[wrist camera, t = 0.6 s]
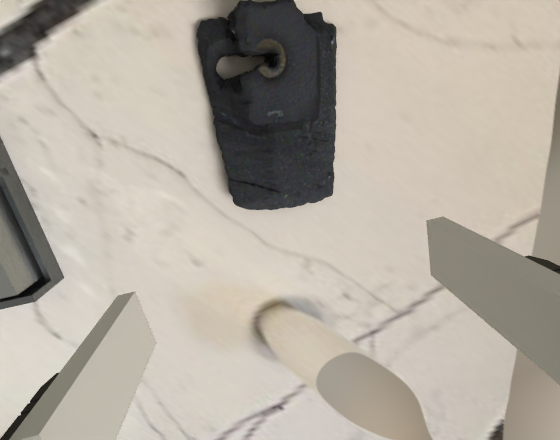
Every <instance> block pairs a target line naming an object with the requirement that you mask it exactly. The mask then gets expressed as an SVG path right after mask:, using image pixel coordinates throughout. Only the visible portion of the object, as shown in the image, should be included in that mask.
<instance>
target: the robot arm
mask: <svg viewBox="0 0 560 440" xmlns="http://www.w3.org/2000/svg"><path fill="white" fill-rule="evenodd" d="M427 233H428V245H429V257H430V270H431V276H433V277H434V278H435V279H436V280H437V281H438V282H440V283H441V284H442V285H443V286H444V287H446V288H447V289H448V290H449V291H450V292H451V293H453V294H454V295H455V296H456V297H457V298H458V299H460V300H461V301H462V302H463V303H464V304H465V305H467V306H468V307H469V308H470V309H471V310H472V311H474V312H475V313H476V314H477V315H478V316H480V317H481V318H482V319H483V320H484V321H485V322H487V323H488V324H489V325H490V326H491V327H492V328H494V329H495V330H496V331H497V332H498V333H499V334H501V335H502V336H503V337H504V338H505V339H506V340H508V341H509V342H510V343H511V344H512V345H514V346H515V347H516V348H517V349H518V350H519V351H521V352H522V353H523V354H524V355H525V356H526V357H528V358H529V359H530V360H531V361H532V362H534V363H535V364H536V365H537V366H538V367H539V368H541V369H542V370H543V371H544V372H545V373H546V374H548V375H549V376H550V377H551V378H552V379H553V380H555V381H556V382H557V383H558V384H559V385H560V266H558V265H556V264H554V263H552V262H550V261H548V260H544V259H540V258H536V257H532V256H525V257H524V256H522V255H520V254H518V253H516V252H514V251H512V250H510V249H508V248H506V247H504V246H502V245H500V244H498V243H496V242H494V241H492V240H490V239H488V238H486V237H483V236H481V235H479V234H477V233H475V232H473V231H471V230H469V229H467V228H465V227H463V226H461V225H459V224H457V223H455V222H453V221H451V220H449V219H447V218H445V217H439V218H435V219H431V220H427ZM155 345H156V340H155V338H154V336H153V333H152V331H151V328H150V326H149V324H148V321H147V319H146V316H145V314H144V312H143V309H142V307H141V304H140V302H139V300H138V297H137V295H136V292H131V293H127V294H123V295H119V296H117V297H116V299H115V300H114V301H113V303H112V304H111V305H110V307H109V308H108V309H107V311H106V312H105V313H104V315H103V316H102V317H101V319H100V320H99V321H98V323H97V324H96V325H95V327H94V328H93V329H92V331H91V332H90V333H89V335H88V336H87V337H86V338H85V340H84V341H83V342H82V344H81V345H80V346H79V348H78V349H77V350H76V352H75V353H74V354H73V356H72V357H71V358H70V360H69V361H68V362H67V364H66V365H65V366H64V368H63V369H62V370H61V372H60V373H56V374H55V375H54V376H53V377H52V378H51V379H50V380H48V381H47V382H46V383H45V384H44V385H43V386H42V387H41V388H40V389H39V390H38V392H37V393H36V394H35V395H34V397H33V398H32V399H31V401H30V403H29V404H27V406H26V407H25V408H24V409H23V411H22V412H21V415H20V416H18V417H17V418H16V420H15V421H14V422H13V423H12V425H11V426H10V427H9V429H8V430H7V431H6V432H5V434H4V435H3V436H2V437H1V439H0V440H116V438H117V436H118V433H119V431H120V428H121V426H122V424H123V421H124V419H125V417H126V414H127V412H128V409H129V407H130V405H131V402H132V400H133V398H134V395H135V393H136V390H137V388H138V386H139V383H140V381H141V378H142V376H143V374H144V371H145V369H146V367H147V364H148V362H149V359H150V357H151V355H152V352H153V350H154V348H155Z"/></svg>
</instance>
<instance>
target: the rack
mask: <svg viewBox="0 0 560 440" xmlns="http://www.w3.org/2000/svg"><path fill="white" fill-rule="evenodd" d="M63 278H64V276H63V274H62V272H61V270H60V267H59V265H58V263H57V261H56V259H55V256H54V254H53V252H52V250H51V248H50V245H49V243H48V241H47V239H46V237H45V234H44V232H43V230H42V228H41V226H40V223H39V221H38V219H37V217H36V215H35V212H34V210H33V208H32V206H31V204H30V201H29V199H28V197H27V195H26V192H25V190H24V188H23V186H22V184H21V181H20V179H19V177H18V175H17V173H16V170H15V168H14V166H13V164H12V162H11V159H10V157H9V155H8V153H7V151H6V148H5V146H4V144H3V142H2V140H1V137H0V309H4V308H9V307H13V306H18V305H22V304H27V303H31V302H35V301H37V300H38V299H39V298H40V297H41V296H43V295H44V294H45V293H46V292H48V291H49V290H50V289H51V288H52V287H54V286H55V285H56V284H57V283H59V282H60V281H61V280H62V279H63Z"/></svg>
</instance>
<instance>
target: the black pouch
mask: <svg viewBox="0 0 560 440" xmlns="http://www.w3.org/2000/svg"><path fill="white" fill-rule="evenodd" d="M228 18H229V20H227V19H225V18H223V17H219V18H218V19H216V20H214V19H209V20H207V21H204V20H203V21H201V23H200V25H199V28H198V31H197V38H198V51H199V55H200V58H201V62H202V66H203V73H204V78H205V81H206V86H207V90H208V94H209V97H210V102H211V106H212V108H213V114H214V116H215V119H214V125H215V127H216V135H217V140H218V144H219V146H220V149H221V150H222V157H223V160H224V163H225V169H226V172H227V175H228V180H229V191H230V194H231V195H232V197H233V202H234V204H235V205H237V206H239V207H242V208H245V209H250V210H254V209H255V210H264V209H268V210H273V209H279V208H286V207H287V208H292V207H296V206H301V205H304V204H306V203H308V202H309V203H316V202H318V201H321V200H323V199H324V198H325V197H329V196H332V194H333V182H334V171H333V161H334V158H335V157H334V152H335V146H334V143H335V131H336V110H335V106H336V48H337V44H336V27H335V26H334V25H333V24H331V25H328V24H327V23H325V22H324V21H323V17H322V13H321V12H317V13H312V14H303V13H302V12H301V11H300V10H299V9H298V8H297V7H296V4H295V2H294V0H276V1H272V2H261V3H260V2H253V1H251V0H248V1H239V3H238V5H237V7H235V9H234V10H233V11H232V12H230V14H229V15H228ZM228 23H229V25H228ZM231 55H238V56H240V57H246V56H248V55H251V56H253V57H255V56H264V57H265V58H266V60H265V64H260V65H258V66H256V67H255V69H254V71H249V72H245V73H244V74H240V75H237V76H235V77H232V78H228V79H223V78H221V77H220V76H219V75H218V74H217V72H216V65H217V63H218V61H219V59H220V58H222V57H224V56H231Z"/></svg>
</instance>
